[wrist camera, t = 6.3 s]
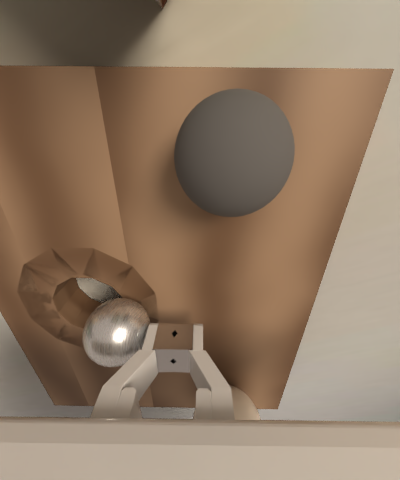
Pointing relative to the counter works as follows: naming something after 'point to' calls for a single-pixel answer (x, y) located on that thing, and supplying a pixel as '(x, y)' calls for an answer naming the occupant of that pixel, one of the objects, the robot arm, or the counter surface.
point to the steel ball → (115, 332)
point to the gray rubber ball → (234, 152)
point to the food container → (161, 3)
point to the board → (167, 218)
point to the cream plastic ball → (242, 406)
